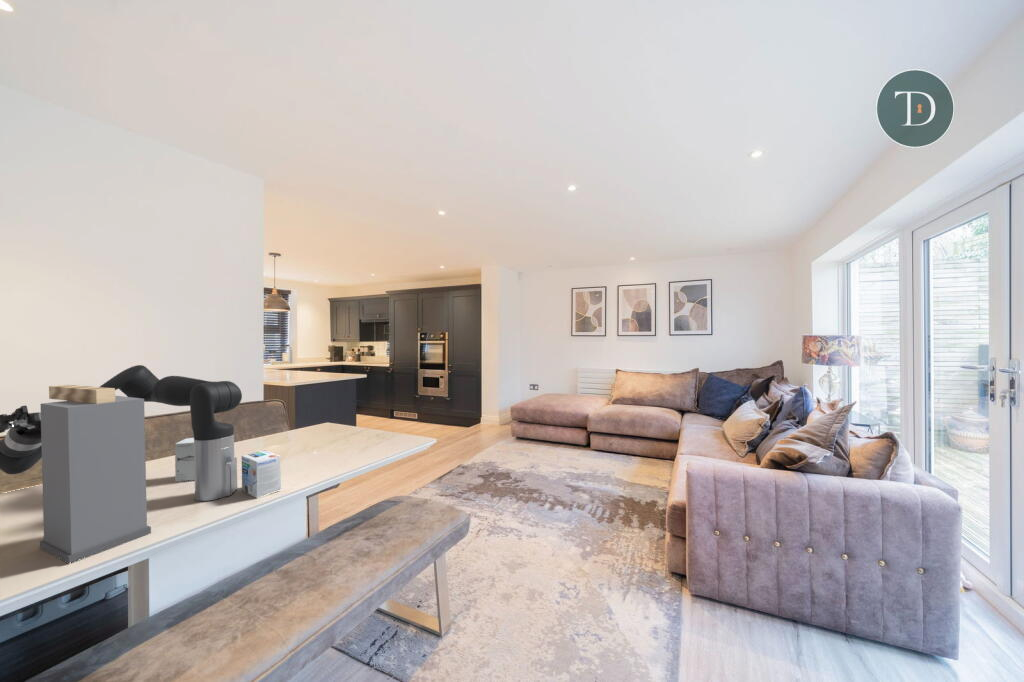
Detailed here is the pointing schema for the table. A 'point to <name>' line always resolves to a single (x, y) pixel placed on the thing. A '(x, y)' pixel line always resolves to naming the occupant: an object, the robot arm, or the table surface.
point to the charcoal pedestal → (93, 476)
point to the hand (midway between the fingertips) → (52, 406)
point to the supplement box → (184, 460)
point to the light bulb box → (261, 473)
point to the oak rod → (82, 393)
